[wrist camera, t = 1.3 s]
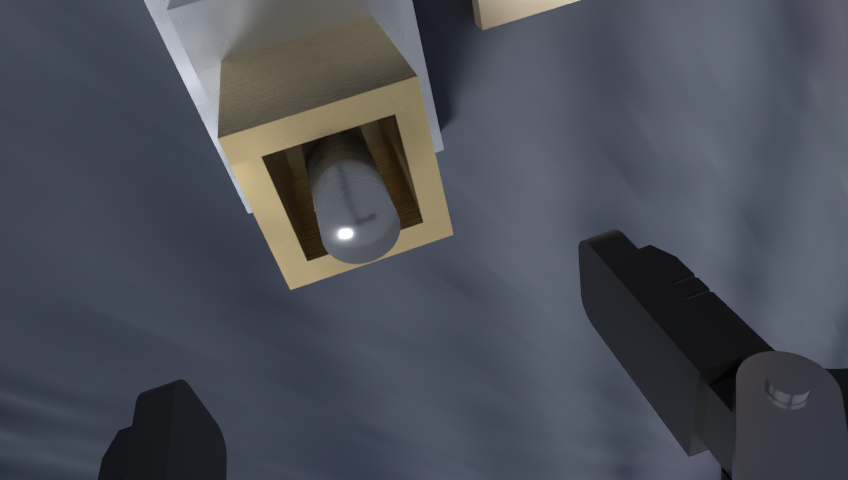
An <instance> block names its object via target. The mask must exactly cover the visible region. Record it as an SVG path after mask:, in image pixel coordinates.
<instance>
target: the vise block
mask: <svg viewBox="0 0 848 480" xmlns="http://www.w3.org/2000/svg"><path fill="white" fill-rule="evenodd" d="M144 1H145V3H146V5H147V7H148V10H149V12H150V14H151V16H152V18H153V20H154V22H155V24H156V26H157V28H158V30H159V32H160V34H161V36H162V38H163V40H164V42H165V44H166V46H167V48H168V50H169V52H170V54H171V57H172V59H173V61H174V63H175V65H176V67H177V69H178V71H179V73H180V75H181V77H182V79H183V81H184V83H185V85H186V87H187V89H188V91H189V93H190V95H191V97H192V99H193V101H194V103H195V106H196V108H197V110H198V112H199V114H200V116H201V118H202V120H203V122H204V124H205V126H206V128H207V130H208V132H209V134H210V136H211V138H212V140H213V142H214V144H215V146H216V148H217V150H218V153H219V155H220V157H221V159H222V161H223V163H224V165H225V167H226V169H227V171H228V173H229V175H230V177H231V179H232V181H233V183H234V185H235V187H236V189H237V191H238V193H239V195H240V197H241V199H242V202H243V204H244V206H245V208H246V210H247V212H248V214H249V213H252V212H253V211H252V209H251V207H250V205H249V203H248V201H247V199H246V197H245V195H244V193H243V191H242V189H241V187H240V184H239V182H238V180H237V178H236V176H235V174H234V172H233V170H232V168H231V166H230V164H229V162H228V160H227V158H226V155H225V153H224V151H223V149H222V147H221V145H220V143H219V141H218V139H217V137H218V115H219V93H220V71H221V61H224V60H227V59H231V58H234V57H237V56H241V55H244V54H247V53H251V52H254V51H257V50H261V49H264V48H267V47H271V46H274V45H277V44H281V43H284V42H287V41H291V40H294V39H297V38H300V37H304V36H307V35H310V34H314V33H317V32H320V31H324V30H327V29H330V28H334V27H337V26H340V25H344V24H347V23H350V22H354V21H357V20H360V19H363V18H367V17H370V16H373V17H374V19H375V20H376V21H377V23H378V24H379V25H380V27H381V28H382V29H383V31H384V32H385V33H386V35H387V36H388V37H389V38H390V40H391V41H392V42H393V44H394V45H395V46H396V48H397V49H398V50H399V52H400V53H401V54H402V56H403V57H404V58H405V60H406V61H407V62H408V64H409V65H410V66H411V68H412V69H413V70H414V72H415V73H416V74H417V76H418V79H419V84H420V88H421V93H422V97H423V102H424V106H425V111H426V115H427V119H428V124H429V128H430V133H431V137H432V142H433V146H434V151H435V153H436V152H439V151H442V150H444V148H443V143H442V138H441V134H440V129H439V124H438V120H437V115H436V110H435V105H434V101H433V96H432V91H431V87H430V82H429V77H428V73H427V68H426V63H425V58H424V54H423V49H422V44H421V40H420V35H419V30H418V26H417V21H416V16H415V11H414V7H413V2H412V0H144ZM381 138H382V135H381V132H380V128H379V125H378V121H377V120H375V121H372V122H368V123H365V124H362V125H359V126H356V127H353V128H350V129H346V130H343V131H340V132H337V133H334V134H331V135H328V136H324V137H321V138H318V139H315V140H312V141H309V142H306V143H302V144H299V145H296V146H293V147H290V148H287V149H284V152H285V154H286V157H287V159H288V162H289V164H290V166H291V167H294V166H297V165H300V164H303V163H305V166H306V171H307V176H308V180H309V185H310V189H311V194H312V198H313V203H314V208H315V212H316V217H317V221H318V226H319V230H320V235H321V240H322V243H323V246H324V248H325V249H326V251H327V252H328V253H329V254H330V255H331V256H332V257H334V258H335V259H337V260H339V261H341V262H345V263H349V264H364V263H368V262H372V261H374V260H377V259H379V258H381V257H382V256H384V255H385V254H386V253H388V252H389V251H390V250H391V249H392V248H393V246H394V245H395V243H396V242H397V240H398V237H399V234H400V228H401V226H400V219H399V216H398V214H397V212H396V209H395V207H394V205H393V202H392V200H391V198H390V195H389V193H388V191H387V188H386V186H385V184H384V181H383V179H382V177H381V174H380V172H379V170H378V167H377V165H376V163H375V161H374V158H373V156H372V154H371V151H370V149H369V147H368V144H367V143H368V142H371V141H375V140H378V139H381Z"/></svg>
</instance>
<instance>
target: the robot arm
mask: <svg viewBox="0 0 848 480" xmlns="http://www.w3.org/2000/svg"><path fill="white" fill-rule="evenodd" d="M579 267H580V284H581V298H582V302H583V306H584V309H585V311H586V314H587V316H588V318H589V320H590V322H591V324H592V325H593V326H594V328H595V329H596V331H597V332H598V333H599V335H600V336H601V337H602V339H603V340H604V342H605V343H606V344H607V346H608V347H609V348H610V350H611V351H612V352H613V354H614V355H615V357H616V358H617V359H618V361H619V362H620V363H621V365H622V366H623V367H624V369H625V370H626V372H627V373H628V374H629V376H630V377H631V378H632V380H633V381H634V382H635V384H636V385H637V387H638V388H639V389H640V391H641V392H642V393H643V395H644V396H645V398H646V399H647V400H648V402H649V403H650V404H651V406H652V407H653V408H654V410H655V411H656V413H657V414H658V415H659V417H660V418H661V419H662V421H663V422H664V423H665V425H666V426H667V428H668V429H669V430H670V432H671V433H672V434H673V436H674V437H675V439H676V440H677V441H678V443H679V444H680V445H681V447H682V448H683V449H684V451H685V452H686V454H687V455H688V456H689V457H690V456H693V455H696V454H698V453H701V452H703V451H706V450H708V449H709V451H710V452H711V453H712V454H713V456H714V457H715V458H716V460H717V461H718V462H719V464H720V465H719V474H718V480H848V368H847V369H825V368H823V367H822V366H821V365H819V364H818V363H816V362H814V361H812V360H810V359H808V358H806V357H803V356H801V355H797V354H794V353H789V352H783V351H775V350H774V349H773V348H772V347H770V346H769V345H768V344H767V343H766V342H765V341H764V340H763V339H762V338H761V337H760V336H759V335H758V334H757V333H755V332H754V331H753V330H752V329H751V328H750V327H749V326H748V325H747V324H746V323H745V322H744V321H743V320H742V319H741V318H740V317H739V316H738V315H737V314H736V313H734V312H733V311H732V310H731V309H730V308H729V307H728V306H727V305H726V304H725V303H724V302H723V301H722V300H721V299H720V298H719V297H718V296H717V295H716V294H715V293H714V292H710V290H709V288H708V287H707V286H706V285H705V284H704V283H703V282H702V281H701V280H700V279H699V278H695V276H694V273H693V272H691V271H690V270H689V269H688V268H687V267H686V266H685V265H684V264H683V263H682V262H681V261H680V260H679V259H678V258H677V257H676V256H673V255H671V254H669V253H667V252H665V251H663V250H660V249H658V248H656V247H654V246H652V245H649V246H646V247H643V248H640V249H638V248H637V247H636V246H635V245H634V244H633V243H632V242H631V241H630V240H629V239H628V238H627V237H626V236H625V235H624V234H623V233H622V232H621V231H619V230H612V231H609V232H607V233H604V234H601V235H598V236H595V237H592V238H589V239H586V240H584V241H581V242H580V243H579ZM226 465H227V455H226V446H225V442H224V438H223V435H222V432H221V430H220V428H219V426H218V424H217V423H216V421H215V420H214V419H213V417H212V416H211V415H210V413H209V412H208V410H207V409H206V408H205V406H204V405H203V404H202V402H201V401H200V399H199V398H198V397H197V395H196V394H195V393H194V391H193V390H192V388H191V387H190V386H189V384H188V383H187V382H186V381H184V380H182V379H180V380H177V381H174V382H171V383H168V384H165V385H162V386H159V387H157V388H154V389H151V390H148V391H145V392H142V393H141V394H139V396H138V398H137V401H136V406H135V412H134V418H133V423H132V426H130V427H128V428H125V429H122V430H119V431H118V433H117V434H116V436H115V438H114V440H113V441H112V443H111V445H110V446H109V448H108V450H107V452H106V453H105V455H104V457H103V458H102V463H101V467H100V472H99V477H98V480H226Z"/></svg>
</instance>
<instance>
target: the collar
mask: <svg viewBox="0 0 848 480" xmlns="http://www.w3.org/2000/svg"><path fill="white" fill-rule="evenodd" d="M375 120H377V121H378V125H379V128H380V132H381V135H382V138H381V139H378V140H375V141H371V142H368V143H367V144H368V147H369V149H370V151H371V154H372V156H373V158H374V161H375V163H376V165H377V167H378V170H379V172H380V174H381V177H382V179H383V181H384V184H385V186H386V188H387V191H388V193H389V195H390V198H391V200H392V202H393V205H394V207H395V209H396V212H397V214H398V216H399V219H400V226H401V228H400V234H399V237H398V240H397V242H396V243H395V245H394V246H393V248H392V249H391V250H390V251H389V252H388V253H386V254H385V255H384V256H382V257H381V258H379V259H377V260H380V259H383V258H386V257H389V256H392V255H395V254H398V253H401V252H404V251H407V250H410V249H413V248H416V247H419V246H422V245H424V244H427V243H430V242H433V241H436V240H439V239H442V238H445V237H448V236H451V235H453V231H452V226H451V222H450V217H449V213H448V208H447V204H446V200H445V195H444V191H443V186H442V182H441V177H440V173H439V168H438V164H437V159H436V155H435V151H434V146H433V142H432V137H431V133H430V128H429V124H428V119H427V115H426V111H425V106H424V102H423V97H422V93H421V88H420V84H419V79H418V76H417V74H416V73H415V72H414V70H413V69H412V68H411V66H410V65H409V64H408V62H407V61H406V60H405V58H404V57H403V56H402V54H401V53H400V52H399V50H398V49H397V48H396V46H395V45H394V44H393V42H392V41H391V40H390V38H389V37H388V36H387V35H386V33H385V32H384V31H383V29H382V28H381V27H380V25H379V24H378V23H377V21H376V20H375V19H374V17H373V16H370V17H367V18H363V19H360V20H357V21H354V22H350V23H347V24H344V25H340V26H337V27H334V28H330V29H327V30H324V31H320V32H317V33H314V34H310V35H307V36H304V37H300V38H297V39H294V40H291V41H287V42H284V43H281V44H277V45H274V46H271V47H267V48H264V49H261V50H257V51H254V52H251V53H247V54H244V55H241V56H237V57H234V58H231V59H227V60H224V61H221V71H220V93H219V115H218V137H217V139H218V141H219V143H220V145H221V147H222V149H223V151H224V153H225V155H226V158H227V160H228V162H229V164H230V166H231V168H232V170H233V172H234V174H235V176H236V178H237V180H238V182H239V184H240V187H241V189H242V191H243V193H244V195H245V197H246V199H247V201H248V203H249V205H250V207H251V209H252V211H253V213H254V216H255V218H256V220H257V222H258V224H259V226H260V228H261V230H262V232H263V234H264V236H265V238H266V240H267V242H268V245H269V247H270V249H271V251H272V253H273V255H274V257H275V259H276V261H277V263H278V265H279V267H280V269H281V271H282V274H283V276H284V278H285V280H286V282H287V284H288V286H289V288H290V290H292V289H295V288H298V287H301V286H304V285H307V284H310V283H313V282H316V281H319V280H322V279H324V278H327V277H330V276H333V275H336V274H339V273H342V272H345V271H348V270H351V269H354V268H357V267H360V266H363V265H366V264H369V263H372V262H374V261H377V260H374V261H372V262H368V263H364V264H349V263H345V262H341V261H339V260H337V259H335V258H334V257H332V256H331V255H330V254H329V253H328V252H327V251H326V249H325V248H324V246H323V243H322V240H321V235H320V230H319V226H318V221H317V217H316V212H315V208H314V203H313V198H312V194H311V189H310V185H309V180H308V176H307V171H306V166H305V163H303V164H300V165H297V166H294V167H291V166H290V164H289V162H288V159H287V157H286V154H285V152H284V149H287V148H290V147H293V146H296V145H299V144H302V143H306V142H309V141H312V140H315V139H318V138H321V137H324V136H328V135H331V134H334V133H337V132H340V131H343V130H346V129H350V128H353V127H356V126H359V125H362V124H365V123H368V122H372V121H375Z"/></svg>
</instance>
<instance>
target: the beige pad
mask: <svg viewBox="0 0 848 480" xmlns="http://www.w3.org/2000/svg"><path fill="white" fill-rule="evenodd" d="M576 1H579V0H472V5H473V12H474V18H475V24H476V25H477V26H478V27H479V28H480V29H482V30H485V29H489V28H492V27H495V26H498V25H501V24H505V23H508V22H511V21H514V20H518V19H521V18H524V17H527V16H531V15H534V14H537V13H540V12H544V11H547V10H550V9H553V8H556V7H560V6H563V5H566V4H569V3H573V2H576Z"/></svg>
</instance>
